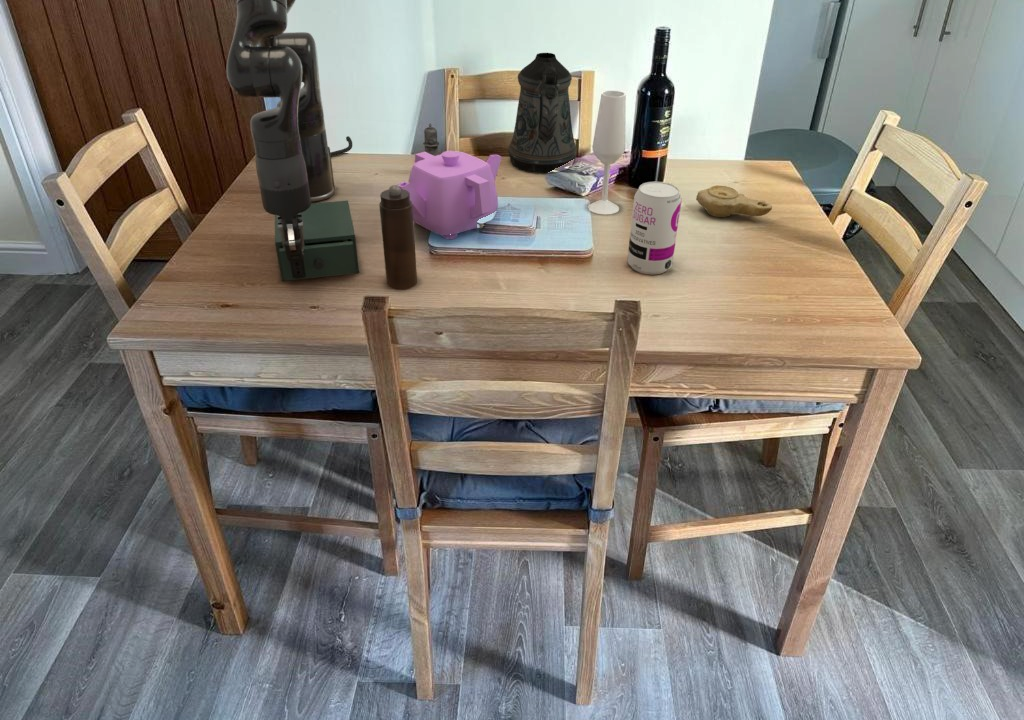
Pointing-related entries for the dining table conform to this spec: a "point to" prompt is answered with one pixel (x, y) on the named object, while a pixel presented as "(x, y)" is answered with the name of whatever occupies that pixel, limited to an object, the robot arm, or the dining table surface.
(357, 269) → the cabinet
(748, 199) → the oil lamp
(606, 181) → the champagne flute
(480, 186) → the teapot
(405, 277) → the pepper mill
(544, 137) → the dark engraved coffee pot
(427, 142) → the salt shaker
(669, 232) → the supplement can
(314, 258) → the drawer
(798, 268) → the dining table surface
